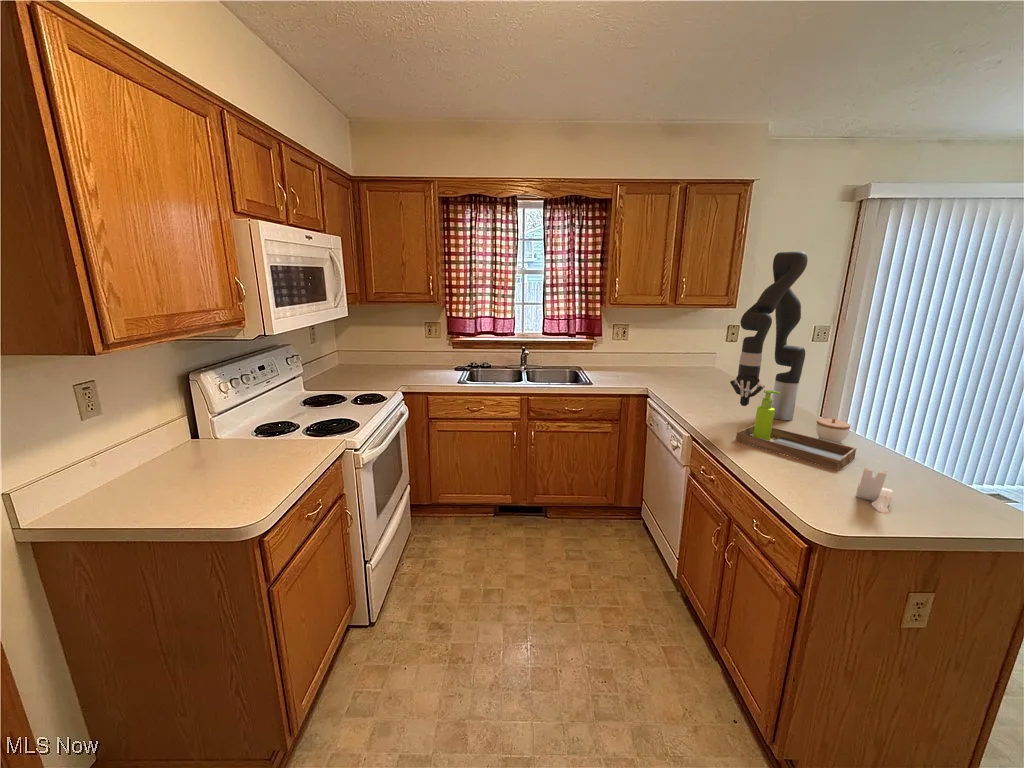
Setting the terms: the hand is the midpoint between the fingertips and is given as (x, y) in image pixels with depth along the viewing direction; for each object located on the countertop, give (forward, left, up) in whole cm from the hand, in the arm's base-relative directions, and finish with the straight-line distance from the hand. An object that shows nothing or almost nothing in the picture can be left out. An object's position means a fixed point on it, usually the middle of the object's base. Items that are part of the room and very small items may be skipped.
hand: (743, 405), depth 178 cm
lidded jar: (-20, +26, -12) cm, 35 cm away
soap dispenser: (0, +9, -12) cm, 15 cm away
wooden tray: (+1, +20, -12) cm, 23 cm away
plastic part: (+28, +50, -12) cm, 59 cm away
